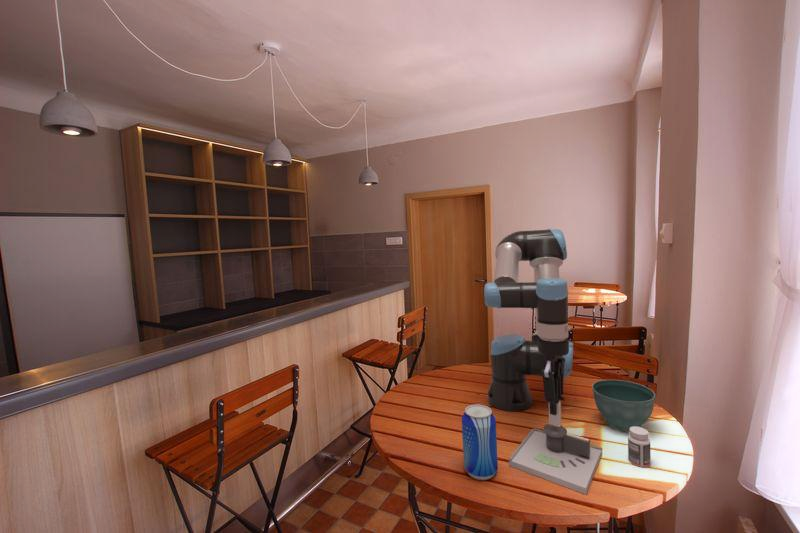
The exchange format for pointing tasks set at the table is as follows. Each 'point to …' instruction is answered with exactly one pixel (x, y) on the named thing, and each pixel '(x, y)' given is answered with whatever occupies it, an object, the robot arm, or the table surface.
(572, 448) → the tuner knob
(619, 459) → the table surface
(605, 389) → the flower pot
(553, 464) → the green curved panel
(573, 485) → the tuner board
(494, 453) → the beer can
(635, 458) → the pill bottle
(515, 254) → the robot arm
